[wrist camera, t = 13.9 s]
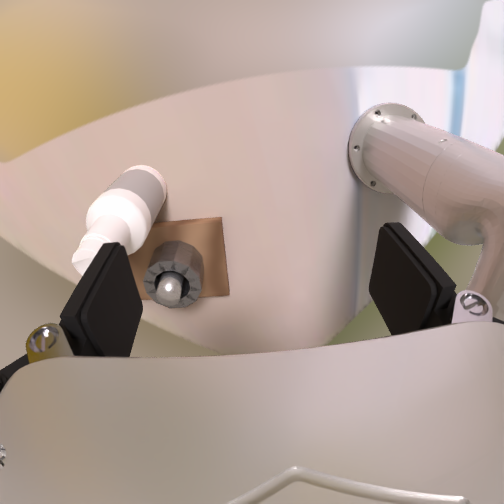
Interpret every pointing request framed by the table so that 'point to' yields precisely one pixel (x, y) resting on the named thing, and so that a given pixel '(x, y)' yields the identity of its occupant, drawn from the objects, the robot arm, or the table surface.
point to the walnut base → (194, 233)
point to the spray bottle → (122, 214)
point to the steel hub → (176, 270)
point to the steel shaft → (170, 288)
